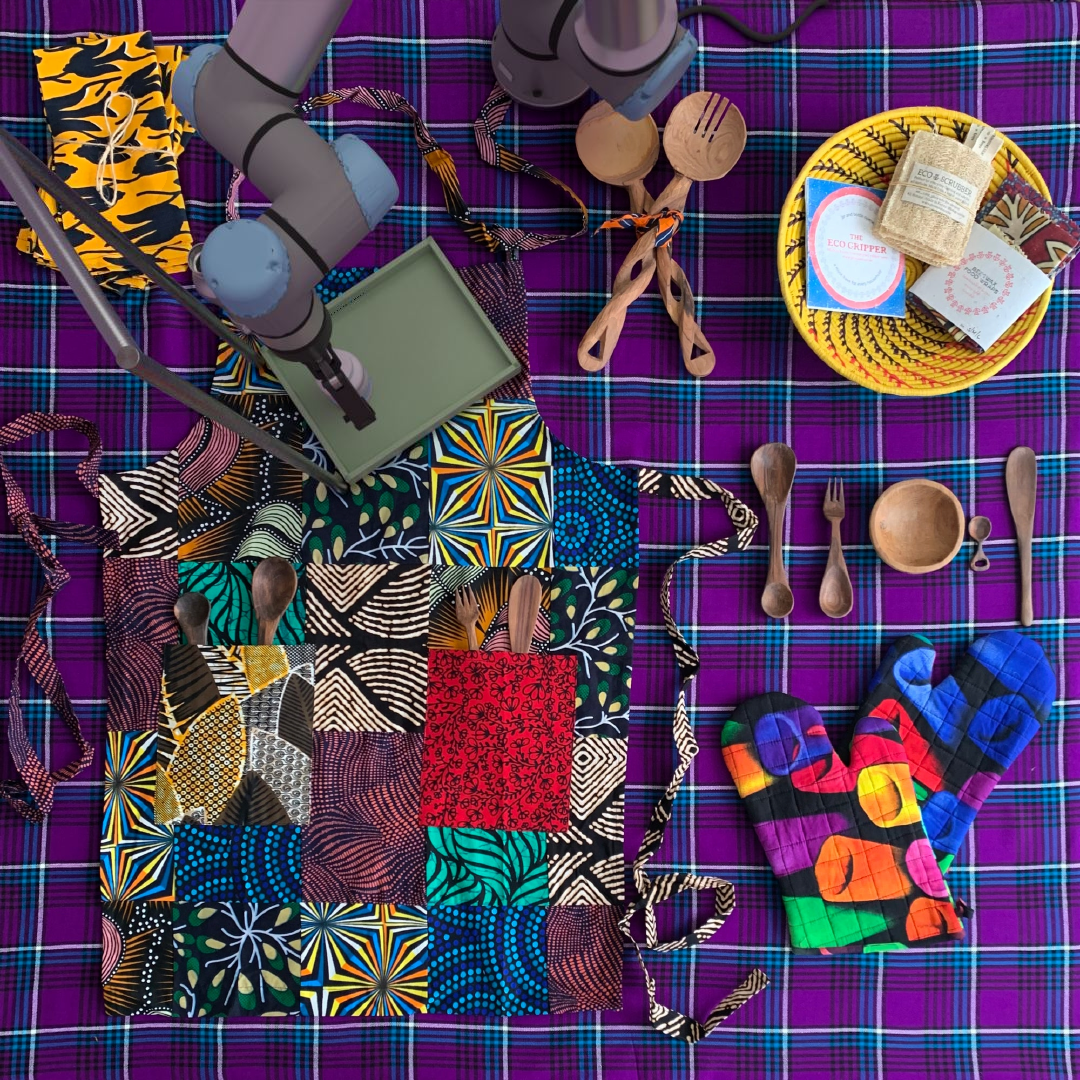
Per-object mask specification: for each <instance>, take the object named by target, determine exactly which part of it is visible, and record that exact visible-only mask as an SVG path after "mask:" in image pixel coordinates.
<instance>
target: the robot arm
mask: <svg viewBox="0 0 1080 1080" xmlns="http://www.w3.org/2000/svg"><path fill="white" fill-rule="evenodd" d="M353 2H354V0H245V1H244V3H243V5H242V8H241V10H240V12H239V14H238V16H237V18H236V19H235V22H234V23H233V26H232V28H231V30H230V32H229V34H228V36H227V38H226V39H225V41H224V42H223V45H221V44H216V43H204V44H201V45H198V46H196V47H195V48H192V49H191V50H190V51H189V55H188V58H186V59H184V60H183V59H182V60H181V61H180V62H179V63H178V65H177V67H176V68H175V70H174V73H173V75H172V80H171V85H170V86H171V87H170V90H171V91H170V92H171V98H172V102H173V104H174V106H175V108H176V110H177V111H178V113H179V114H180V115H181V117H183V118H184V119H185V120H186V121H187V123H189V125H190V126H191V127H192V128H193V129H194V131H196V132H197V134H198V136H199V137H200V138H201V139H202V140H203V141H204V142H206V143H207V144H209V145H210V147H213V148H214V149H215V150H216V151H217V152H218V153H219V154H220V155H221V156H222V157H223V158H225V159H226V160H227V161H228V163H230V164H232V166H233V167H234V168H235V169H237V170H238V171H239V172H240V173H241V174H242V175H243V176H244V177H245V178H246V179H247V180H248V181H249V182H250V183H251V184H252V185H253V186H254V187H255V188H256V189H257V190H259V191H260V192H261V193H262V194H263V195H264V196H265V197H266V198H267V199H268V200H269V201H270V202H271V205H270V206H269V207H268V208H267V209H266V210H264V211H263V212H262V214H261V215H259V217H258V218H257V219H256V220H254V219H251V218H250V219H249V218H237V219H234V220H231V221H228V222H225V223H222V224H220V225H218V226H217V227H215V228H214V229H213V230H212V231H211V232H210V233H209V235H208V236H207V237H206V239H205V240H204V242H203V243H204V245H203V248H202V251H201V257H200V265H201V271H202V274H203V277H204V280H205V282H206V283H207V285H208V286H209V288H210V289H211V290H212V292H213V293H214V294H215V296H216V298H217V299H218V300H219V301H220V302H221V303H222V304H223V305H224V306H225V307H226V308H227V309H228V310H229V311H230V312H231V313H232V314H233V315H234V316H235V317H236V318H237V319H239V320H240V321H241V322H242V323H243V324H244V325H243V326H242V330H243V331H242V332H243V333H244V334H245V335H250V334H249V333H251V332H253V333H254V335H255V336H256V338H257V339H258V340H259V341H260V342H261V343H262V344H263V346H264V345H265V346H266V347H267V348H268V349H269V350H270V351H271V352H272V353H273V354H274V355H276V356H277V357H279V358H281V359H283V360H286V361H290V362H301V363H302V364H303V365H306V366H307V368H308V369H309V370H310V372H311V373H312V374H313V376H314V377H315V379H317V380H322V381H321V383H322V386H323V388H324V389H326V390H327V391H328V392H329V393H330V394H331V396H332V397H333V398H334V399H335V401H336V402H337V403H338V405H339V406H340V407H341V408H342V410H343V411H344V412H345V414H346V415H345V416H343V419H344V421H345V422H346V423H348V422H350V421H352V423H353V424H354V425H355V426H354V427H355V428H356V429H357V430H358V431H361V430H362V429H364V428H365V427H367V426H368V425H370V424H371V423H373V422H374V421H376V416H375V414H376V413H375V412H374V410H373V409H372V407H371V406H370V405H369V404H368V403H367V401H366V400H365V399H364V398H363V396H362V397H361V396H360V395H359V393H358V392H357V391H356V389H355V388H354V386H353V385H352V383H351V382H350V381H349V379H348V378H347V376H346V375H345V374H344V372H343V371H342V369H341V365H342V363H341V361H340V359H339V358H338V356H337V355H336V353H335V352H334V350H333V349H332V348H331V347H332V345H331V343H330V338H331V334H332V320H331V316H330V313H329V311H328V310H327V308H326V306H325V305H326V304H325V303H324V302H323V301H322V299H321V298H320V295H319V294H318V293H317V291H316V290H315V287H316V286H317V285H318V284H319V283H320V282H321V281H322V280H323V279H324V278H325V276H326V275H327V274H328V273H330V272H331V271H332V270H333V268H335V266H337V265H338V264H339V263H340V261H342V260H343V259H344V258H345V257H346V256H347V255H348V254H349V253H350V252H351V251H352V250H353V249H354V248H355V247H357V245H358V244H360V242H361V241H362V240H364V238H365V237H366V236H367V235H368V234H369V233H371V232H373V231H374V230H375V229H376V226H377V225H378V224H379V223H380V221H381V220H383V218H384V217H385V216H386V215H387V214H388V212H389V211H390V210H391V209H393V207H394V205H395V204H396V203H397V201H398V200H399V196H400V189H399V186H398V183H397V180H396V178H395V175H393V173H392V171H391V170H390V168H389V166H387V164H386V163H385V161H384V160H383V159H382V158H381V157H380V155H378V153H377V152H375V150H374V149H373V148H371V146H369V144H368V143H366V141H364V140H362V139H360V138H359V137H358V136H357V135H355V134H353V133H344V134H342V135H340V137H338V138H337V139H335V140H334V139H333V140H332V141H331V142H330V144H329V142H327V141H326V140H325V139H324V138H323V137H322V136H321V135H320V134H318V133H317V132H316V130H315V129H314V128H312V127H311V126H310V125H309V124H308V123H307V122H306V121H305V120H304V119H303V118H302V117H300V115H298V114H297V113H296V112H295V111H294V109H295V107H296V106H297V103H298V101H299V99H300V98H301V96H302V94H303V92H304V90H305V88H306V86H307V85H308V83H309V80H310V79H311V77H312V75H313V73H314V72H315V70H316V68H317V66H318V65H319V63H320V61H321V59H322V58H323V56H324V54H325V52H326V50H327V49H328V47H329V45H330V43H331V41H332V39H333V37H334V36H335V34H336V32H337V31H338V29H339V27H340V25H341V24H342V22H343V20H344V18H345V16H346V15H347V13H348V11H349V9H350V7H351V5H352V4H353ZM498 4H499V12H500V19H499V22H498V24H497V26H496V29H495V31H494V34H493V37H492V41H491V42H492V43H491V49H490V60H491V66H492V67H491V68H492V73H493V75H494V78H495V80H496V82H497V84H498V86H499V87H500V89H501V90H502V91H503V92H504V94H505V95H506V96H507V97H509V99H510V100H512V101H514V102H515V103H517V104H519V105H520V106H522V107H525V108H528V109H531V110H535V111H542V112H549V111H557V110H562V109H565V108H567V107H570V106H572V105H574V104H575V103H578V102H580V100H582V99H583V98H584V97H585V96H586V95H587V94H588V93H589V92H590V91H591V89H592V90H593V91H594V92H595V93H596V94H597V95H598V96H599V97H601V99H603V100H604V101H605V102H606V103H607V104H608V105H609V106H610V107H611V108H612V111H614V112H616V113H619V114H620V115H621V116H622V117H623V118H625V119H626V120H628V121H630V122H640V121H641V120H643V119H645V118H646V117H647V116H649V114H651V113H652V112H653V111H654V110H655V109H656V108H657V107H659V105H660V104H661V103H662V102H663V101H664V100H665V98H666V97H667V96H668V95H669V94H670V93H671V91H672V90H673V89H674V88H675V86H676V85H677V84H678V83H679V81H680V80H681V78H682V77H683V75H685V73H686V71H687V70H688V68H689V67H690V66H691V64H692V62H693V60H694V58H695V56H696V55H697V51H698V48H699V43H698V40H697V39H696V37H695V36H694V35H692V34H691V33H692V32H691V30H690V29H689V28H684V26H682V25H681V24H680V22H679V21H680V20H682V19H684V18H686V17H688V16H690V15H694V14H701V13H702V14H710V15H715V16H716V17H719V18H721V19H723V20H724V21H726V22H727V23H729V24H730V25H731V26H733V27H734V28H735V29H736V30H737V31H739V32H740V33H741V34H743V35H745V36H747V37H748V38H749V39H752V40H754V41H757V42H763V43H773V42H778V41H781V40H783V39H785V38H787V37H789V36H790V35H791V34H792V33H794V32H795V31H796V30H797V29H798V28H800V26H801V25H802V24H803V23H804V22H805V21H806V19H808V17H810V15H811V14H812V13H813V12H814V11H815V10H816V9H817V8H819V7H827V6H828V5H829V4H830V1H829V0H814V1H813V2H812V3H810V4H809V5H808V6H807V7H806V8H805V9H804V11H802V13H801V14H800V15H799V16H798V17H797V18H796V19H795V20H794V21H793V22H792V24H790V25H789V26H788V27H786V28H785V29H783V30H782V31H780V32H777V33H771V34H770V33H769V34H767V33H761V32H757V31H755V30H753V29H751V28H750V27H748V26H746V25H745V24H744V23H743V22H741V21H740V20H739V19H737V18H736V17H735V16H733V15H732V14H730V13H729V12H728V11H726V10H724V9H722V8H719V7H717V6H713V5H707V4H698V5H692V6H689V7H687V8H683V9H682V10H680V11H678V5H677V1H676V0H498ZM504 89H505V90H506V91H505V90H504ZM326 349H327V350H328V352H329V353H330V355H331V356H332V359H331V357H330V355H329V353H328V352H327V350H326Z"/></svg>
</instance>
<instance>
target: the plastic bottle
mask: <svg viewBox="0 0 1080 1080" xmlns="http://www.w3.org/2000/svg"><path fill="white" fill-rule="evenodd" d="M204 243H205V242H199V243H196V244H195V245H193V246H192V247H191V248H190V249H189V251H188V253H187V256H186V261H187V265H188V268H189V269H190V270H191V271H192V275H191V276H192V281H193V285H194V288H195V290H196V292H197V293H198V294H199V295H200V296H201V297H202V298H203V299H204V300H206V301H207V302H209V303H212V304H213V305H215V306H218V307H219V308H220V309H222V310H223V311H224V312H225V313H226V315H227V317H228V318H229V320H230V322H231V323H232V325H233V326H234V327H235V328H236V329H237V330H239V331H241V332H243V330H242V326H243V325H244V324H243V323H242V322H241V321H240V320H239V319H237V318H236V317H235V316H234V315H233V314H232V313H231V312H230V311H229V310H228V309H227V308H226V307H225V306H224V305H223V304H222V303H221V302H220V301H219V300H218V299H217V298H216V296H215V294H214V293H213V292H212V290H211V289H210V288H209V286H208V285H207V283H206V282H205V280H204V277H203V274H202V271H201V265H200V257H201V251H202V248H203V245H204ZM248 335H255V334H254V333H253V332H251V333H249V334H248Z"/></svg>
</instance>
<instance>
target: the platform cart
mask: <svg viewBox="0 0 1080 1080" xmlns="http://www.w3.org/2000/svg"><path fill="white" fill-rule="evenodd" d="M0 181H1V183H2V184H3V185H4V187H5V189H6V190H7V192H8V193H9V195H10V196H11V198H12V199H13V201H14V203H15V205H16V206H17V207H18V209H19V210H20V212H21V213H22V215H23V217H25V219H26V221H27V222H28V224H29V226H30V228H32V230H33V232H34V234H35V235H36V236H37V238H38V240H39V241H40V243H41V244H42V246H43V247H44V249H45V250H46V252H47V254H48V255H49V256H50V258H51V259H52V261H53V262H54V264H55V266H56V268H57V269H58V270H59V272H60V274H61V275H62V277H63V278H64V279H65V281H66V282H67V285H68V286H69V287H70V289H71V291H72V292H73V293H74V296H76V298H77V299H78V301H79V303H80V304H81V306H82V307H83V309H84V310H85V312H86V313H87V315H88V316H89V319H91V321H92V323H93V324H94V326H95V327H96V329H97V331H98V332H99V333H100V334H101V336H102V338H103V340H104V341H105V342H106V344H107V346H108V347H109V349H110V351H111V352H112V354H113V355H114V357H115V361H116V364H117V366H119V367H120V368H121V369H123V370H124V371H126V372H128V373H130V374H132V375H134V376H135V377H137V378H139V379H141V380H142V381H143V382H145V383H147V384H149V385H151V386H152V387H154V388H156V389H158V390H159V391H161V392H163V393H164V394H166V395H167V396H169V397H171V398H173V399H175V400H177V401H179V402H180V403H182V404H183V405H186V406H187V407H188V408H191V409H192V410H194V411H196V412H197V413H199V414H201V415H202V416H205V417H206V418H208V419H210V420H212V421H214V423H217V424H219V425H220V426H222V427H224V428H225V429H227V430H228V431H231V432H232V433H234V434H236V435H238V436H240V437H241V438H243V439H244V440H247V442H250V443H252V444H254V445H255V446H257V447H258V448H260V449H262V450H264V451H265V452H268V453H269V454H271V455H272V456H274V457H275V458H278V459H280V460H281V461H282V462H285V463H287V464H288V465H290V466H291V467H293V468H295V469H296V470H299V471H300V472H302V473H304V474H306V475H307V476H309V477H311V478H312V479H314V480H316V481H318V482H320V483H321V484H323V485H325V486H326V487H328V488H330V489H332V490H333V491H335V492H337V493H338V494H342V495H343V494H346V493H347V492H348V490H349V486H348V484H349V485H350V486H353V485H354V484H355V483H357V482H359V481H360V480H362V479H363V478H364V477H366V476H367V475H370V474H371V473H372V472H373V471H375V470H377V469H378V468H380V467H381V466H382V465H384V464H385V463H387V462H389V461H390V460H391V459H393V458H394V457H395V456H397V455H399V454H401V453H402V452H404V451H405V450H406V449H408V448H409V447H411V446H412V445H414V444H415V443H417V442H419V441H420V440H421V439H423V438H425V437H426V436H428V435H429V434H431V433H432V432H433V431H434V430H436V429H438V428H439V427H441V426H443V425H444V424H446V423H447V422H448V421H450V420H452V419H453V418H454V417H456V416H457V415H459V414H460V413H462V412H463V411H465V410H466V409H468V408H469V407H471V406H472V405H474V404H476V403H477V402H478V401H479V400H482V399H483V398H484V397H486V396H487V395H490V393H492V392H493V391H495V390H496V389H498V388H499V387H501V386H502V385H503V384H505V383H507V382H509V381H510V380H511V379H513V378H514V377H515V376H517V375H518V374H520V373H522V365H521V363H520V362H519V361H518V359H517V358H516V356H515V355H514V354H513V353H512V351H511V349H510V348H509V346H508V345H507V343H506V342H505V340H504V339H503V338H502V336H501V335H500V334H499V332H498V331H497V329H496V328H495V326H494V325H493V323H492V322H491V320H490V319H489V318H488V316H487V315H486V313H485V311H484V310H483V309H482V307H481V306H480V304H479V303H478V302H477V300H476V299H475V297H474V296H473V294H472V292H471V291H470V290H469V289H468V287H467V286H466V284H465V283H464V282H463V280H462V278H461V277H460V276H459V274H458V272H457V271H456V270H455V268H454V267H453V266H452V264H451V263H450V261H449V260H448V258H447V256H446V255H445V254H444V253H443V251H442V250H441V248H440V247H439V245H438V244H437V243H436V241H435V240H434V238H433V236H432V235H429V236H428V237H426V238H425V239H423V240H421V241H420V242H418V243H417V244H416V245H414V246H412V247H411V248H410V249H408V250H406V251H405V252H404V253H402V254H400V255H399V256H397V257H396V258H395V259H393V260H391V261H389V262H388V263H387V264H385V265H383V266H382V267H381V268H379V269H377V270H376V271H375V272H373V273H371V274H370V275H369V276H367V277H366V278H364V279H363V280H361V281H359V282H358V283H356V284H355V285H353V286H352V287H351V288H349V289H347V290H346V291H344V292H343V293H341V294H340V295H338V296H336V297H335V298H334V299H332V300H331V301H329V302H327V303H326V304H324V305H325V306H326V308H327V310H328V311H329V313H330V316H331V320H332V334H331V338H330V343H331V345H332V347H331V348H332V349H339V350H343V351H347V352H349V353H351V354H353V355H354V356H355V357H356V358H357V359H358V360H359V361H360V363H361V364H362V365H363V367H364V368H365V369H366V371H367V372H368V374H369V375H370V377H371V379H372V381H373V393H372V396H371V398H370V400H369V402H368V404H369V405H370V406H371V407H372V409H373V410H374V412H375V413H376V414H375V416H376V421H374V422H373V423H371V424H370V425H368V426H367V427H365V428H364V429H362V430H361V431H358V430H357V429H356V428H355V427H354V426H355V425H354V424H353V423H352V421H350V422H348V423H346V422H345V421H344V419H343V416H345V415H346V414H345V412H344V411H343V410H342V408H340V407H338V406H337V405H336V404H335V403H334V402H333V401H332V400H331V399H330V398H329V397H328V396H327V395H326V394H325V393H324V392H323V391H322V390H321V389H320V388H319V386H318V384H317V382H316V379H315V377H314V376H313V374H312V373H311V372H310V370H309V369H308V368H307V366H306V365H303V364H302V363H301V362H290V361H286V360H283V359H281V358H279V357H277V356H276V355H274V354H273V353H272V352H271V351H270V350H269V349H268V348H267V347H266V346H265V345H264V344H263V345H262V346H261V347H260V348H258V351H259V352H260V353H258V352H257V351H256V350H255V349H254V348H252V346H250V345H249V344H248V343H247V342H245V341H244V339H243V338H241V337H240V336H239V335H238V334H237V333H235V331H233V330H232V329H231V328H230V327H229V326H227V324H225V322H223V321H222V320H221V319H220V318H219V317H218V316H217V315H216V314H214V312H212V311H211V310H210V309H208V308H207V307H206V305H204V304H203V303H202V302H201V301H199V299H197V297H195V296H194V295H193V294H192V293H191V292H190V291H188V290H187V289H186V288H185V287H184V286H183V285H182V284H180V283H179V282H178V281H177V280H176V279H175V278H174V277H173V276H171V275H170V274H169V273H168V272H167V271H166V270H164V269H163V268H162V267H161V266H160V265H159V264H157V262H155V261H154V260H153V259H152V258H151V257H150V256H149V255H148V254H147V253H145V251H144V250H142V249H141V248H140V247H138V245H136V244H135V243H134V242H133V241H132V240H131V239H130V238H129V237H127V236H126V235H125V234H124V233H123V232H122V231H120V230H119V228H117V227H116V226H115V225H114V224H113V223H112V222H110V221H109V220H108V219H107V218H106V217H105V216H103V215H102V213H101V212H99V211H98V210H97V209H96V208H95V207H94V206H93V205H91V204H90V203H89V202H88V200H86V199H84V198H83V197H82V196H81V195H80V194H79V193H78V192H76V190H74V189H73V188H72V187H71V186H70V185H69V184H67V183H66V181H64V180H63V179H62V178H61V177H60V176H58V174H56V173H55V172H54V171H53V170H52V169H51V168H50V167H49V166H47V164H45V163H44V162H43V161H41V159H40V158H38V157H37V156H36V155H35V154H34V153H33V152H32V151H31V150H30V149H28V148H27V147H26V146H25V145H24V144H22V143H21V141H20V140H18V139H17V138H16V137H15V136H13V134H11V132H9V131H8V130H6V128H5V127H4V126H2V125H1V124H0ZM33 183H34V184H36V185H37V186H38V187H39V188H40V189H41V190H43V191H44V192H45V193H46V194H47V195H49V196H50V197H51V198H52V199H53V200H55V201H56V202H57V203H58V204H60V206H62V207H63V208H64V209H65V210H67V212H69V213H70V214H72V216H74V217H75V218H76V219H78V220H79V221H80V222H81V223H82V224H83V225H85V226H86V227H87V228H88V229H89V230H90V231H92V232H93V233H94V234H95V235H96V236H98V237H99V238H100V239H102V241H104V242H105V243H106V244H107V245H109V247H111V248H112V249H113V250H114V251H116V252H117V253H118V254H120V256H121V257H123V258H124V259H125V260H127V261H128V262H129V263H130V264H131V265H133V266H134V267H135V268H136V269H137V270H138V271H139V272H141V273H142V274H143V275H145V277H147V278H148V279H149V280H150V281H151V282H153V283H154V284H155V285H156V286H157V287H158V288H160V289H161V290H162V291H164V292H165V293H166V294H167V295H168V296H169V297H171V299H173V300H174V301H176V302H177V303H178V304H179V305H180V306H182V307H183V308H184V309H185V310H186V311H187V312H189V313H190V315H192V316H193V317H194V318H196V319H197V320H198V321H200V322H201V323H202V324H203V325H204V326H205V327H207V328H208V329H209V330H210V331H211V332H213V333H214V334H215V335H216V336H217V337H219V339H221V340H222V341H224V342H225V343H226V344H227V345H228V346H229V347H231V348H232V349H233V350H234V351H236V353H238V354H239V355H240V356H241V357H242V358H244V359H245V360H246V361H247V362H249V363H250V364H251V365H252V366H253V367H255V368H256V369H261V368H263V367H265V364H266V363H267V365H268V366H269V368H270V369H271V370H272V372H273V374H274V375H275V377H276V378H277V380H278V381H279V382H280V384H281V385H282V387H283V389H284V390H285V391H286V394H288V396H289V398H290V399H291V401H292V403H293V404H294V405H295V407H296V408H297V410H298V412H299V413H300V414H301V416H302V417H303V418H304V420H305V422H306V423H307V425H308V426H309V428H310V429H311V431H312V432H313V434H314V435H315V437H316V438H317V441H318V442H319V443H320V444H321V446H322V447H323V449H324V451H325V452H326V453H327V455H328V456H329V458H330V459H331V461H332V462H333V464H334V465H335V467H336V468H337V471H339V473H340V474H341V476H342V478H343V479H344V480H345V481H344V480H342V479H341V478H339V477H337V476H336V475H335V474H333V473H331V472H330V471H328V470H327V469H325V468H323V467H322V466H320V465H318V464H317V463H316V462H314V461H312V460H311V459H310V458H308V457H306V456H305V455H303V454H302V453H300V452H299V451H297V450H295V449H294V448H292V447H291V446H289V445H288V444H286V443H285V442H283V441H281V440H280V439H278V438H277V437H275V436H274V435H272V434H271V433H269V432H267V431H265V430H264V429H263V428H261V427H260V426H258V425H256V424H255V423H253V422H252V421H250V420H248V418H247V419H246V417H243V416H242V415H241V414H239V413H238V412H236V411H235V410H233V409H231V408H230V407H228V406H227V405H225V404H223V403H222V402H221V401H219V400H217V399H216V398H214V397H213V396H211V395H209V394H208V393H206V392H204V391H203V390H202V389H200V388H198V387H197V386H196V385H194V384H193V383H190V382H189V381H188V380H186V379H184V378H183V377H181V376H180V375H178V374H177V373H175V372H174V371H172V370H170V369H169V368H167V367H166V366H164V365H162V364H161V363H160V362H158V361H157V360H155V359H153V358H152V357H150V356H148V355H147V354H145V353H144V352H143V351H142V350H141V348H140V347H139V346H138V344H137V342H136V341H135V339H134V337H133V336H132V334H131V333H130V332H129V330H128V328H127V326H126V325H125V324H124V322H123V321H122V319H121V318H120V316H119V315H118V313H117V312H116V310H115V309H114V307H113V306H112V304H111V302H110V301H109V299H108V298H107V296H106V295H105V293H104V291H103V290H102V288H101V287H100V286H99V284H98V282H97V281H96V279H95V278H94V276H93V275H92V273H91V271H90V270H89V269H88V267H87V265H86V264H85V262H84V261H83V259H82V258H81V256H80V255H79V253H78V252H77V251H76V249H75V247H74V246H73V244H72V243H71V241H70V240H69V238H68V237H67V235H66V234H65V232H64V230H63V229H62V228H61V226H60V224H59V223H58V221H57V220H56V218H55V216H54V215H53V214H52V212H51V210H50V209H49V208H48V206H47V204H46V203H45V201H44V199H43V198H42V197H41V195H40V193H39V192H38V190H37V189H36V188H35V186H34V185H33ZM363 293H364V294H363ZM360 295H361V296H360ZM358 296H359V297H358ZM357 297H358V298H357ZM355 298H356V299H355ZM354 299H355V300H354ZM351 301H352V302H351ZM349 302H350V303H349ZM348 303H349V304H348ZM346 304H347V305H346ZM345 305H346V306H345ZM343 306H344V307H343ZM340 308H341V309H340ZM337 310H338V311H337ZM334 312H335V313H334ZM331 314H332V315H331ZM326 350H327V349H326ZM260 354H261V355H260Z"/></svg>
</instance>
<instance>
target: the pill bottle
mask: <svg viewBox="0 0 1080 1080" xmlns="http://www.w3.org/2000/svg"><path fill="white" fill-rule="evenodd" d="M333 350H334V352H335V353H336V355H337V356H338V358H339V359H340V361H341V363H342V365H341V369H342V371H343V372H344V374H345V375H346V376H347V378H348V379H349V381H350V382H351V383H352V385H353V386H354V388H355V389H356V391H357V392H358V393H359V395H360V396H361V397H362V396H363V398H364V399H365V400H366V401H367V403H368V402H369V400H370V398H371V396H372V393H373V381H372V379H371V377H370V375H369V374H368V372H367V371H366V369H365V368H364V367H363V365H362V364H361V363H360V361H359V360H358V359H357V358H356V357H355V356H354V355H353V354H351V353H349V352H347V351H343V350H339V349H333ZM327 352H328V350H327ZM328 353H329V352H328ZM329 355H330V353H329ZM330 357H331V359H332V356H331V355H330ZM321 381H322V380H317V379H316V382H317V384H318V386H319V388H320V389H321V390H322V391H323V392H324V393H325V394H326V395H327V396H328V397H329V398H330V399H331V400H332V401H333V402H334V403H335V404H336V405H337V406H338V407H340V406H339V405H338V403H337V402H336V401H335V399H334V398H333V397H332V396H331V394H330V393H329V392H328V391H327V390H326V389H324V388H323V386H322V383H321ZM340 408H341V407H340Z"/></svg>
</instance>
